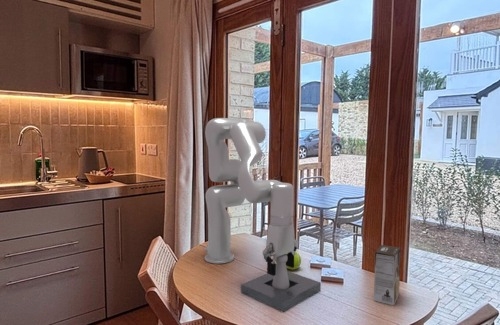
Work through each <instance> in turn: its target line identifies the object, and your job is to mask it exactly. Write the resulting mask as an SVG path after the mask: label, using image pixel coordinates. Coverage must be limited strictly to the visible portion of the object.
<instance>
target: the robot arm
mask: <svg viewBox="0 0 500 325" xmlns="http://www.w3.org/2000/svg"><path fill="white" fill-rule="evenodd" d="M204 130H205V133H204V135H205V136H204V137H205V140H206V144H207V151H208V153H207V154H208V176H209V179H210V181H212V182H214V183H225V182H228V183H229V182H230V183H229V184H219V185H212V186H210V187H209V188H208V189H207V190H206V191H205V203H206V208H207V240H208V241H207V242H208V243H207V245H206V246H205V247H204V251H206V254H205V255H204V260H205V262H207V263H210V264H216V265H217V264H218V265H220V264H227V263H231V262H232V261H234V259H235V254H234V253H232V252H231V247H232V246H231V241H232V240H231V239H232V238H231V230H232V229H231V225H232V224H231V215H230V214H229V212H228V211H227V209H226V208H231V207H237V206H240V205H242V204H243V203H244V202H245V200H246V201H248V203H251V204H261V203H269V202H270V213H269V214H270V216H269V217H270V223H269V224H268V226H267V227H268V228H267V233H266V243H265V248H264V249H263V250H262V255H263V259H264V261H265V262H266V263H267V265H266V266H267V267H266V274H267V273H268V274H270V275H273V276H275V275H276V263H275V262H276V258H277V257H279V256H282V255H284V254H286V255H287V257H288V259H287V262H286V266H289V267H292V268H293V267H294V256H295V254H296V253H295V252H296V251H297V250H298V248H297V247H298V244H299V240H297V239H296V238H295V226H294V186H293V185H292V183H289V182H282V181H279V180H276V179H265V180H264V179H263V180H254V178H253V175H252V172H251V167H252V166H254V165H255V164H257V163H258V162H260V161H261V160H262V158H263V156H264V155H263V154H264V153H263V150H262V148H261V146H260V144H261V143H263V142H264V141H265V139H266V137H267V136H266V135H267V132H266V128H265V127H264V125H263V124H262V123H261V122H259V121H254V120H249V119H246V118H233V117H231V118H230V117H229V118H228V117H216V118H212V119H211V120H209V121H208V122H207V124H206V126H205V129H204ZM225 140H231V141H232V143H233V145H234V147H235V150H236V152H237V155H238V157H239V159H236V158H235V159H234V158H232V159H231V158H230V155H229V153H230V152H229V147H228V145H227V143H226V142H225Z"/></svg>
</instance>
